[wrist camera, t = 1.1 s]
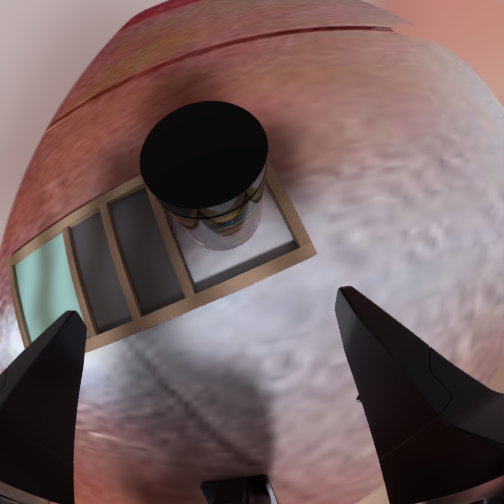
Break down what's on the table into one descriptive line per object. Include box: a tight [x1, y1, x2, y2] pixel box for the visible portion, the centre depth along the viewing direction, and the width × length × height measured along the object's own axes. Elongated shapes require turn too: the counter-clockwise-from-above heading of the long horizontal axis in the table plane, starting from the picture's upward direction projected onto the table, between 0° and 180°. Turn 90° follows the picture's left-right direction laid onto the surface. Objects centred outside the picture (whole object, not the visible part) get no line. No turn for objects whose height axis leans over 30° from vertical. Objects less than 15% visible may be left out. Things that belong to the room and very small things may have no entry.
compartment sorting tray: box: [7, 158, 317, 353], centre depth 22 cm, size 31×13×1 cm, turn 114°
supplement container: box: [140, 101, 268, 250], centre depth 18 cm, size 7×7×10 cm
